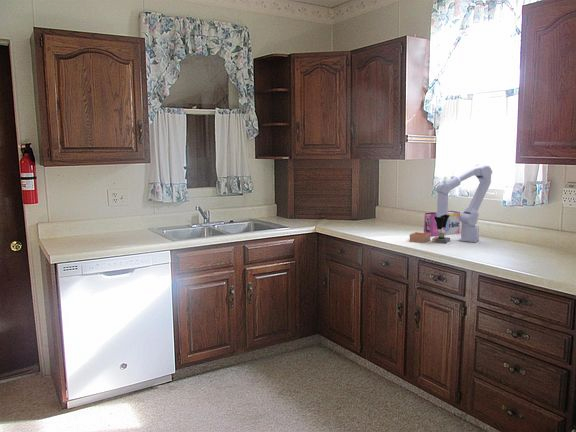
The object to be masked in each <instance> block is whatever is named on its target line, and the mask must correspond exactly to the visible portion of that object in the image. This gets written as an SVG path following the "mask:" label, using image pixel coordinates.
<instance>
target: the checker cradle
mask: <svg viewBox="0 0 576 432" xmlns="http://www.w3.org/2000/svg"><path fill="white" fill-rule="evenodd" d="M431 242H432V243H439V244H448V243H449V242H451V237H449V236H448V237H446V236H444V239H438V236H433V237H432V239H431Z"/></svg>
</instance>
